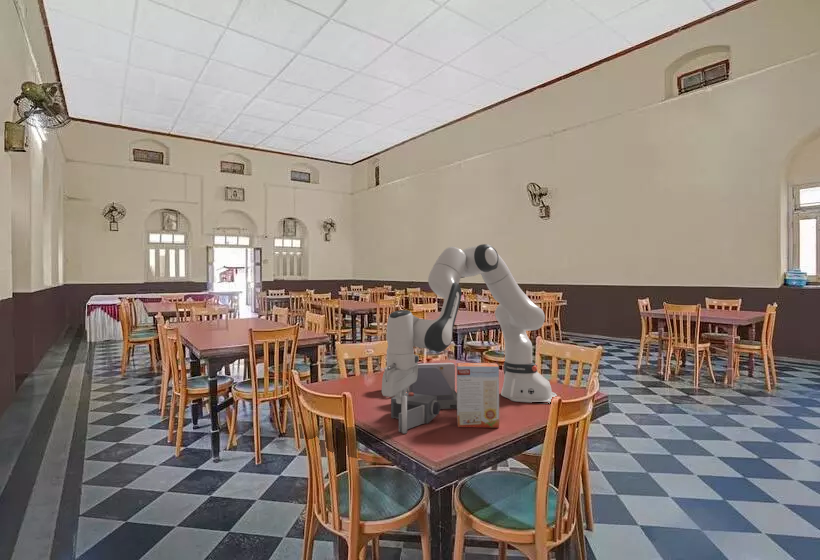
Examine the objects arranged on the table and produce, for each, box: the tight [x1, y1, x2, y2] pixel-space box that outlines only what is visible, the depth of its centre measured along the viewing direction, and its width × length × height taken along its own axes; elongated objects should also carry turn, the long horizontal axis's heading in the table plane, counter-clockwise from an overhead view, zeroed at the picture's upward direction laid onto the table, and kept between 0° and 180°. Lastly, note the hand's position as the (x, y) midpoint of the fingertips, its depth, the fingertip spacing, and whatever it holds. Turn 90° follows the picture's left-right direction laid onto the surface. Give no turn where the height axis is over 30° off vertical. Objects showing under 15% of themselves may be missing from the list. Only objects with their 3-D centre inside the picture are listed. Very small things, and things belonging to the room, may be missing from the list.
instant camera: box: [407, 362, 457, 410], centre depth 174 cm, size 21×21×15 cm
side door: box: [398, 396, 425, 435], centre depth 146 cm, size 12×3×12 cm, turn 136°
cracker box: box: [456, 362, 500, 429], centre depth 149 cm, size 14×6×21 cm, turn 86°
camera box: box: [390, 392, 441, 424], centre depth 157 cm, size 16×9×8 cm, turn 67°
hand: (400, 402), depth 143 cm, fingers closed
